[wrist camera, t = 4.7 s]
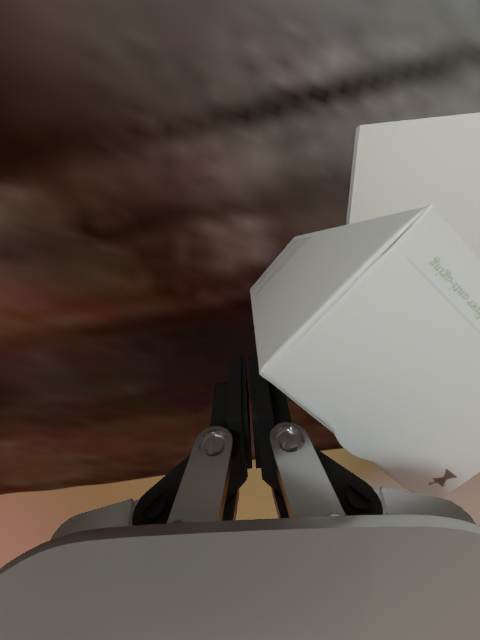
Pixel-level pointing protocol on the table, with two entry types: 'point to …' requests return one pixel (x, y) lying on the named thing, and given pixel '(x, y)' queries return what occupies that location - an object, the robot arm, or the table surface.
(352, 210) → the white flat piece
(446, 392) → the skincare box
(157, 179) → the table surface
